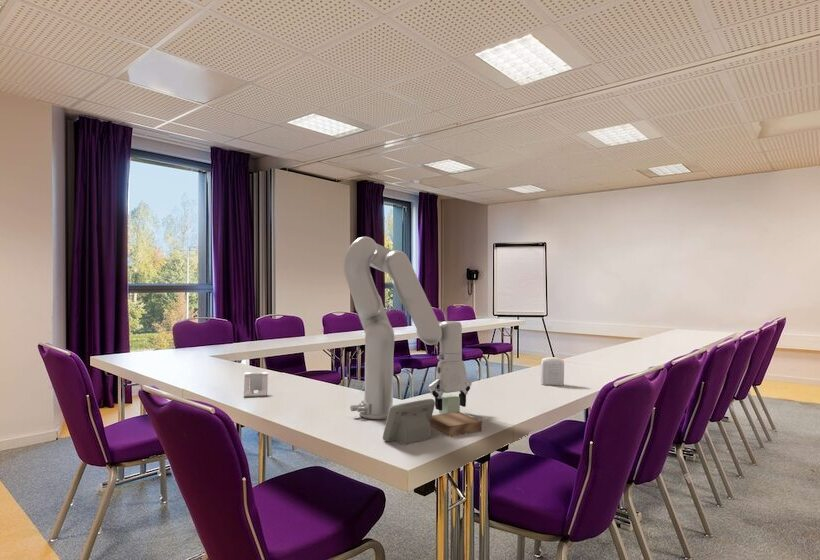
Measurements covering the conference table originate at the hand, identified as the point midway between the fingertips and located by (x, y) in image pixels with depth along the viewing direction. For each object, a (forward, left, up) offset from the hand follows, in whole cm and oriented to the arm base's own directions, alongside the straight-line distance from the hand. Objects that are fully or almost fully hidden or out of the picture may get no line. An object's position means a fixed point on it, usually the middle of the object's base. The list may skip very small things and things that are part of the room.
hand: (450, 407), depth 162 cm
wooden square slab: (-8, -14, -2) cm, 16 cm away
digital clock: (-25, -16, -3) cm, 30 cm away
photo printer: (+70, +20, -2) cm, 72 cm away
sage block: (0, 0, -2) cm, 2 cm away
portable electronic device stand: (-52, +57, -3) cm, 78 cm away
